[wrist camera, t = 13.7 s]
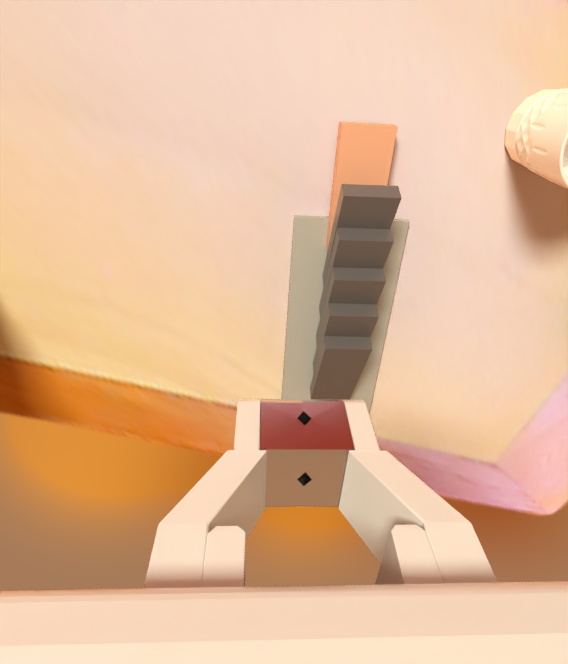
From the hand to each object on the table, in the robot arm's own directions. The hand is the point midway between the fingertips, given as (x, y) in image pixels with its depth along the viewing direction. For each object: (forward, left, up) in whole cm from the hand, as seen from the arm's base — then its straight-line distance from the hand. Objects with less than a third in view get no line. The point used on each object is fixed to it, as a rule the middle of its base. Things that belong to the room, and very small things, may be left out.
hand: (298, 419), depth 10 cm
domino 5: (+9, -24, -35) cm, 43 cm away
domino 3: (+9, -16, -35) cm, 39 cm away
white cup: (+26, +4, -36) cm, 45 cm away
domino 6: (+9, -28, -35) cm, 45 cm away
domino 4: (+9, -20, -35) cm, 41 cm away
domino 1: (+9, -9, -35) cm, 37 cm away
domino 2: (+9, -12, -35) cm, 38 cm away
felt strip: (+9, -19, -36) cm, 42 cm away
